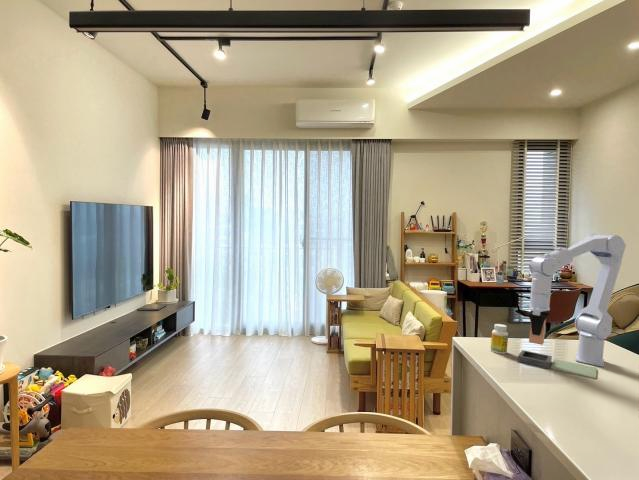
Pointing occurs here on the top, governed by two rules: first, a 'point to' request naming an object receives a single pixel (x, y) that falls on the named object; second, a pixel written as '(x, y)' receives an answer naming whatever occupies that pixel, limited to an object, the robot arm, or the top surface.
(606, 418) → the top surface
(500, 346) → the supplement bottle
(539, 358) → the metal collar
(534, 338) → the peg
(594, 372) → the rubber mat
